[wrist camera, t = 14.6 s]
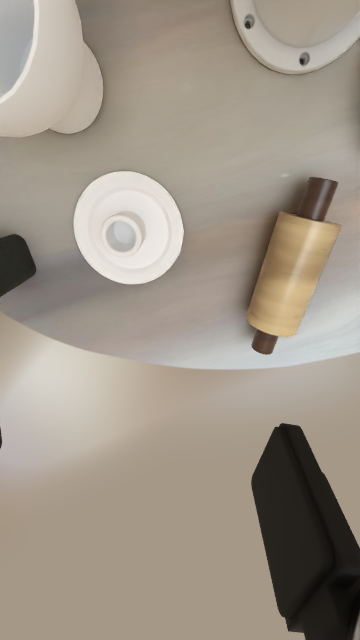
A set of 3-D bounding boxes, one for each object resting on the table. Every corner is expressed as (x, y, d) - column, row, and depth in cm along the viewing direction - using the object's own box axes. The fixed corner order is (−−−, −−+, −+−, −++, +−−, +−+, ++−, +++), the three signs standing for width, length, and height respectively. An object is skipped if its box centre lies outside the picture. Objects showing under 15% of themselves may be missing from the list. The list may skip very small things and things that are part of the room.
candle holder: (204, 238, 33) (207, 246, 29) (129, 300, 36) (122, 315, 32) (130, 143, 29) (121, 138, 25) (53, 224, 32) (35, 230, 28)
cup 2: (-23, 65, 26) (-248, -56, 12) (61, -32, 23) (-111, -325, 10) (61, 174, 30) (-41, 171, 16) (142, 101, 27) (100, 26, 13)
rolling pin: (282, 173, 29) (308, 173, 24) (336, 185, 30) (373, 187, 25) (233, 333, 38) (244, 359, 32) (276, 339, 38) (294, 366, 33)
